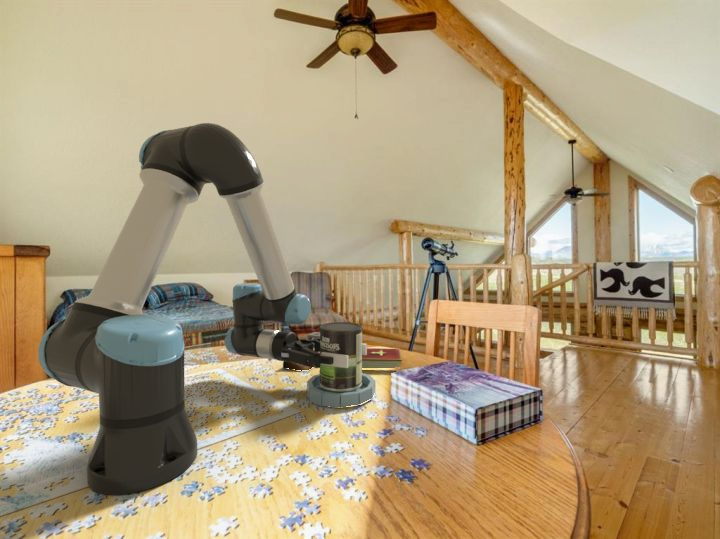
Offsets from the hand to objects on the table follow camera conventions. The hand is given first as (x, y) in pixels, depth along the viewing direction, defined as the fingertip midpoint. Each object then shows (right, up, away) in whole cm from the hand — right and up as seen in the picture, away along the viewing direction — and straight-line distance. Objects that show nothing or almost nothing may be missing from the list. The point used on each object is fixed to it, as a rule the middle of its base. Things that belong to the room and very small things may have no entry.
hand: (357, 355), depth 85 cm
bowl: (-4, -10, +2) cm, 11 cm away
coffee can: (-4, -8, +2) cm, 9 cm away
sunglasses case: (-15, -9, +27) cm, 32 cm away
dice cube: (-15, -8, +44) cm, 47 cm away
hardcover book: (+2, -9, +25) cm, 27 cm away
